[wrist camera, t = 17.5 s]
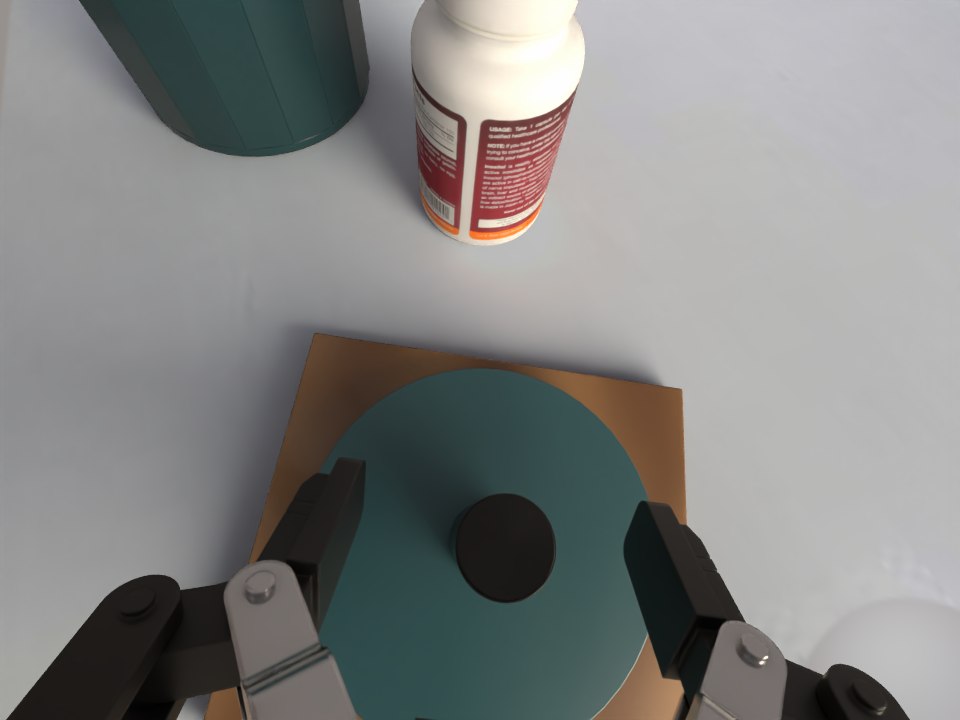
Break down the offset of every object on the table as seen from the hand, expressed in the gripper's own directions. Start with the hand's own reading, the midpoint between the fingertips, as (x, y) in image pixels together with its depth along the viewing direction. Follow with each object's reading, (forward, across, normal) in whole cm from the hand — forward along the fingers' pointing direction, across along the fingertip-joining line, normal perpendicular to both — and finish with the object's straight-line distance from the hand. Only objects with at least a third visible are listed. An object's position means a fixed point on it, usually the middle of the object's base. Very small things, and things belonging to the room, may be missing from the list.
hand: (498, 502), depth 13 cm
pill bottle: (+14, +2, -7) cm, 16 cm away
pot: (+19, +15, -11) cm, 26 cm away
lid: (+2, 0, +3) cm, 4 cm away
